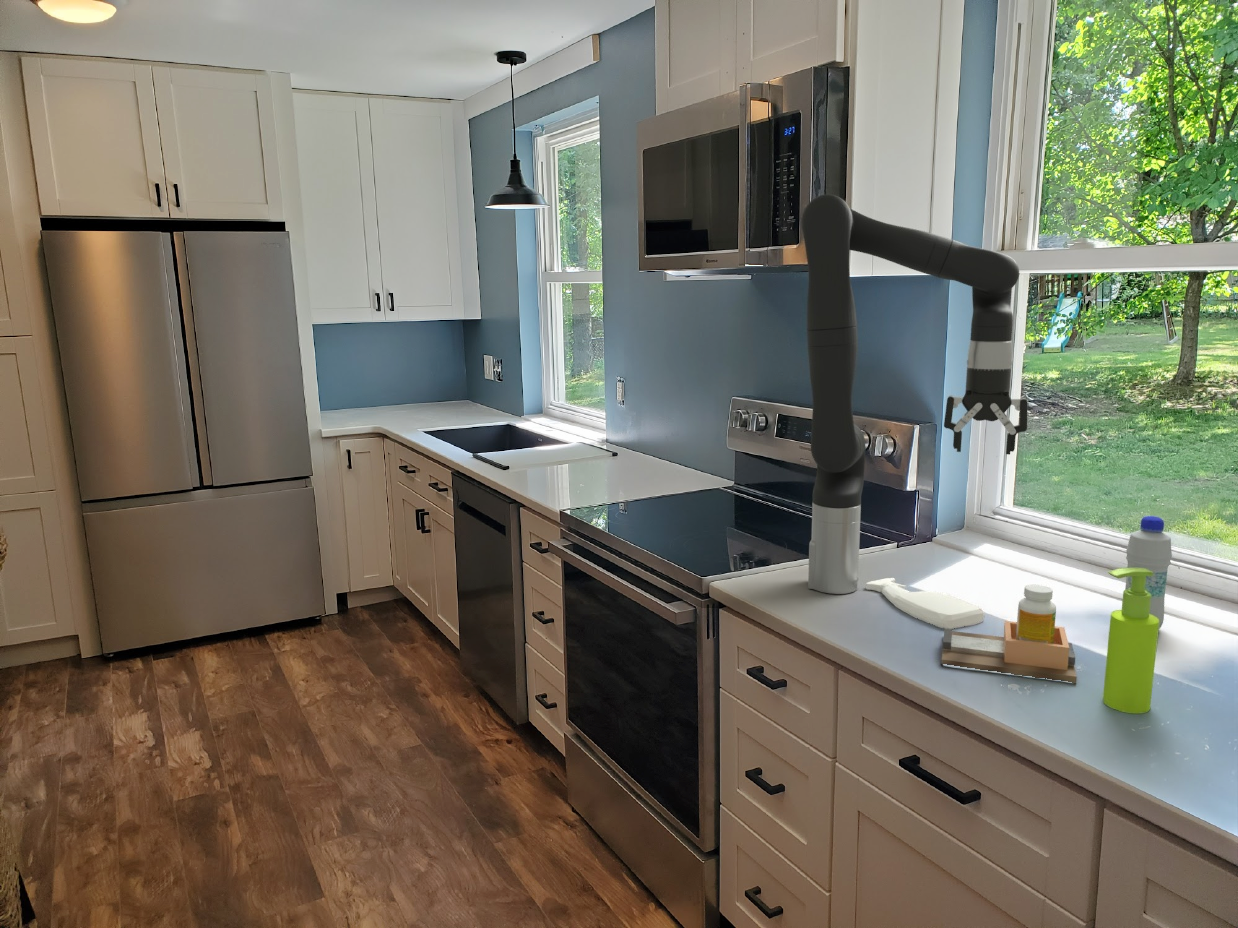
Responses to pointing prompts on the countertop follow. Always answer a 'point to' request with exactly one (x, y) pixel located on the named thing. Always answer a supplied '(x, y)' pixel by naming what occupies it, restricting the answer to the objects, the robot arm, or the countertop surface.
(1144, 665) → the soap dispenser
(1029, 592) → the supplement bottle
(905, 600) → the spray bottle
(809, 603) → the countertop surface
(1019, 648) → the orange open box
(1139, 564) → the bottle
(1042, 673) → the rail board
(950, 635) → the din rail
